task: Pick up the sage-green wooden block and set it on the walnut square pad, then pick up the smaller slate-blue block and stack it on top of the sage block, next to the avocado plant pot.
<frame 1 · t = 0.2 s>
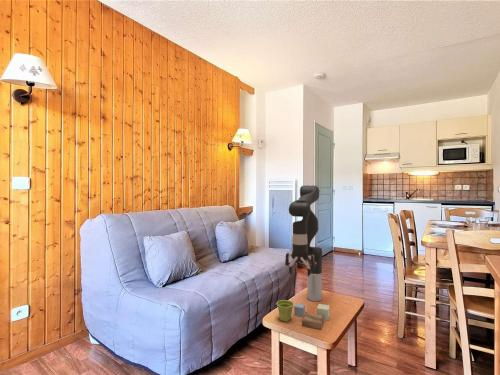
hand: (299, 274, 140), 29 cm above the table, fingers open, 8 cm apart
slate block: (299, 314, 160), on the table
walnut square pad: (313, 323, 149), on the table
plant pot: (285, 319, 154), on the table
sage block: (323, 317, 156), on the table
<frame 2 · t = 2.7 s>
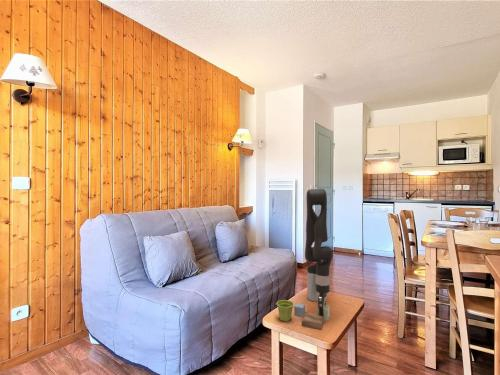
hand: (322, 312, 155), 3 cm above the table, fingers open, 8 cm apart
nothing on the table moved.
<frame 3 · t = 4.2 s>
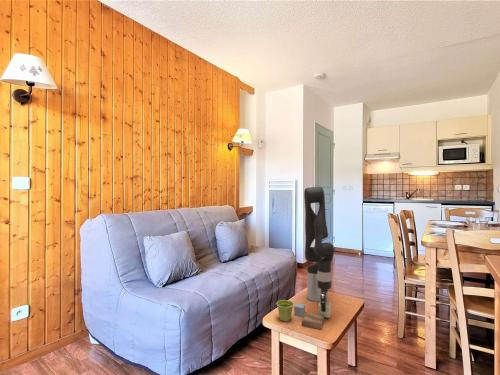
hand: (324, 308, 156), 5 cm above the table, fingers closed on sage block, 6 cm apart
sage block: (324, 314, 156), point 2 cm above the table, touching gripper
everything else where it was.
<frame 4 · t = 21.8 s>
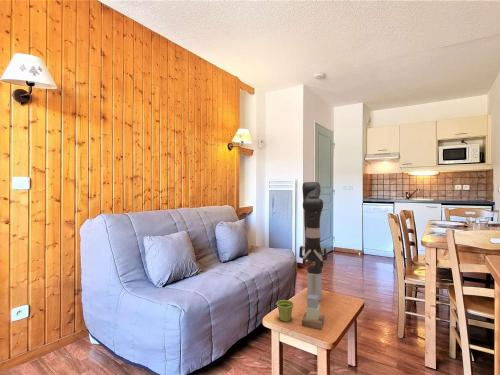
hand: (313, 266, 149), 30 cm above the table, fingers open, 8 cm apart
slate block: (312, 306, 149), point 9 cm above the table, touching sage block
sage block: (313, 317, 149), point 3 cm above the table, touching slate block, walnut square pad
everything else where it was.
at the end: sage block 0.1 cm off-centre on the walnut square pad, point 3.2 cm above the walnut square pad's base; slate block 0.1 cm off-centre on the sage block, point 6.0 cm above the sage block's base; slate block tilted 0° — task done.
